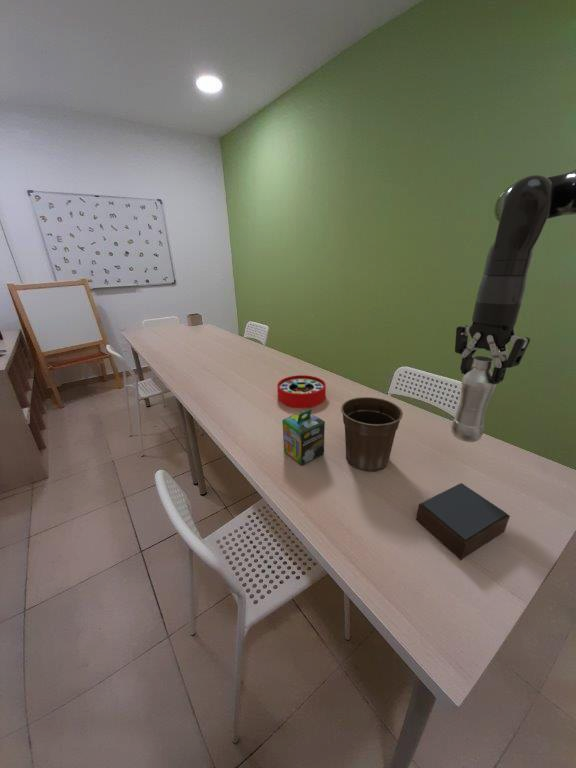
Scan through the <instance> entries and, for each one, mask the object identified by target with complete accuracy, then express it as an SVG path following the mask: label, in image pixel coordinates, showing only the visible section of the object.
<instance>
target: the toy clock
mask: <svg viewBox="0 0 576 768" xmlns="http://www.w3.org/2000/svg"><path fill="white" fill-rule="evenodd" d="M326 388H327V384H326V382H325V380H324V379H322V378H320V377H318V376H313V375H307V374H306V375H305V374H299V375H291V376H286V377H284V378H282V379H280V380H279V381H278V382H277V401H278V402H279V403H280V404H282V405H283V406H285V407H289V408H294V409H310V408H314V407H317V406H320V405H321V404H323V403H324V402H325V400H326V398H327V397H326V395H327V394H326V393H327V391H326V390H327V389H326Z"/></svg>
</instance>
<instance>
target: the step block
mask: <svg viewBox="0 0 576 768" xmlns="http://www.w3.org/2000/svg"><path fill="white" fill-rule="evenodd" d="M510 518H511V515H509V514H508V513H507V512H506V511H504V510H503V509H502V508H499V507H498V506H496V504H494V503H492V502H490V501H489V500H488V499H487V498H484V497H483V496H482V495H480V494H479V493H477V492H476V491H474V490H473V489H472V488H470V487H468V486H467V485H466V484H464V483H462V482H460V483H459V484H456V485H454V486H452V487H450V488H448V489H446V490H445V491H442V492H440V493H439V494H438V493H437V494H436V495H434V496H433V497H430V498H428V499H426V500H424V501H422V502H419V503H418V506H417V511H416V516H415V521H416V522H417V523H419V524H420V525H421V527H423V528H424V529H425V530H426V531H427V532H429V533H430V534H431V535H432V536H433V537H434V538H435V539H436V540H437V541H438V542H440V543H441V544H442V545H443V546H444V547H445V548H446V549H447V550H448V551H450V552H451V553H452V554H453V555H454V556H455V557H456V558H457V559H459V560H460V561H462V560H464V559H465V558H467V557H468V556H470V555H471V554H473V553H474V552H475V551H477V550H478V549H480V548H482V547H484V546H485V545H486V544H488V543H489V542H492V540H495V539H496V538H498V537H499V536H500V535H502V534H503V533H505V532H506V528H507V526H508V522H509V520H510Z"/></svg>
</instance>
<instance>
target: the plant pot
mask: <svg viewBox="0 0 576 768" xmlns="http://www.w3.org/2000/svg"><path fill="white" fill-rule="evenodd" d="M340 412H341V414H342V422H343V424H344V438H345V439H344V441H345V458H346V460H347V461H348V462H349V463H350V465H351V466H352V467H354V468H356V469H359V470H362V471H367V472H377V471H378V470H380V469H382V470H384V468H386V467H387V466H388V464H389V462H390V456H391V454H392V453H391V452H392V448H393V445H394V441H395V437H396V432H397V431H398V429H399V425H400V422H401V421H402V419H403V415H404V413H403V410H402V409H401V407H400V406H399V405H398V404H396V403H394V402H392V401H389V400H388V399H384V398H379V397H373V396H362V397H353V398H350V399H347V400H346V401H344V402H343V403H342V405H341V406H340Z"/></svg>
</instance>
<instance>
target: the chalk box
mask: <svg viewBox="0 0 576 768" xmlns="http://www.w3.org/2000/svg"><path fill="white" fill-rule="evenodd" d="M281 422H282V439H283V440H282V441H283V451H284V453H286V454H287V455H288V456H289V457H290V458H292V459H293V460H294V461H296V462H297V463H298V465H300V466H304V465H306V464H307V463H309V462H311V461H313V460H315V459H316V458H317V459H318V458H319V457H320V456H322V455H324V454H325V428H326V427H325V426H326V421H325V420H323V419H322V418H319V416H316V415H315V414H313V413H312V408H309V409H304V410H301V411H299V412H297V413H294V414H292V415H289V416H288V417H286V418H285V417H284V418H283V419H282V421H281Z"/></svg>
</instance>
